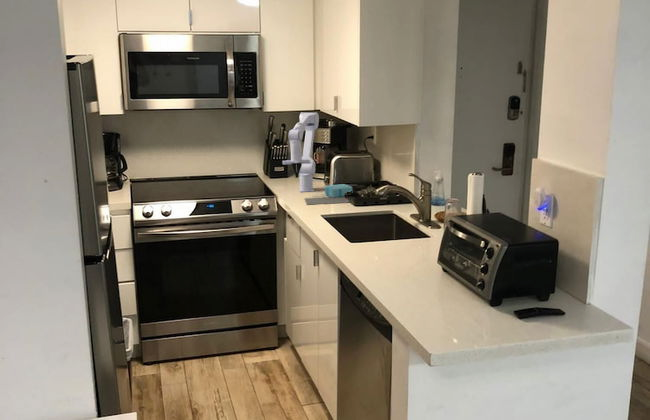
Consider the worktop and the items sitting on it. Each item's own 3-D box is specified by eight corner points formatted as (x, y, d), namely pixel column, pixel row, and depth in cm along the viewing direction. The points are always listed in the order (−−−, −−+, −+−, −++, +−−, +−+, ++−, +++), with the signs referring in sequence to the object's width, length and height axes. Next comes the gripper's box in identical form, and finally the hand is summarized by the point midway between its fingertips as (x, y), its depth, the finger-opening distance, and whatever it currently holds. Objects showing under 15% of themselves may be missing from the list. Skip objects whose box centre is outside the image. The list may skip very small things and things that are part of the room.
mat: (304, 199, 353) (304, 198, 353) (345, 196, 355) (345, 196, 355) (306, 204, 339) (306, 204, 339) (349, 202, 342) (349, 202, 342)
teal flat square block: (333, 197, 352) (353, 195, 357) (332, 189, 351) (353, 187, 356) (324, 194, 363) (344, 191, 368) (323, 185, 362) (344, 183, 367)
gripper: (282, 153, 349) (283, 179, 353) (310, 152, 351) (311, 178, 354) (282, 151, 356) (283, 176, 359) (309, 150, 358) (309, 175, 361)
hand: (296, 177), depth 357 cm, fingers closed
